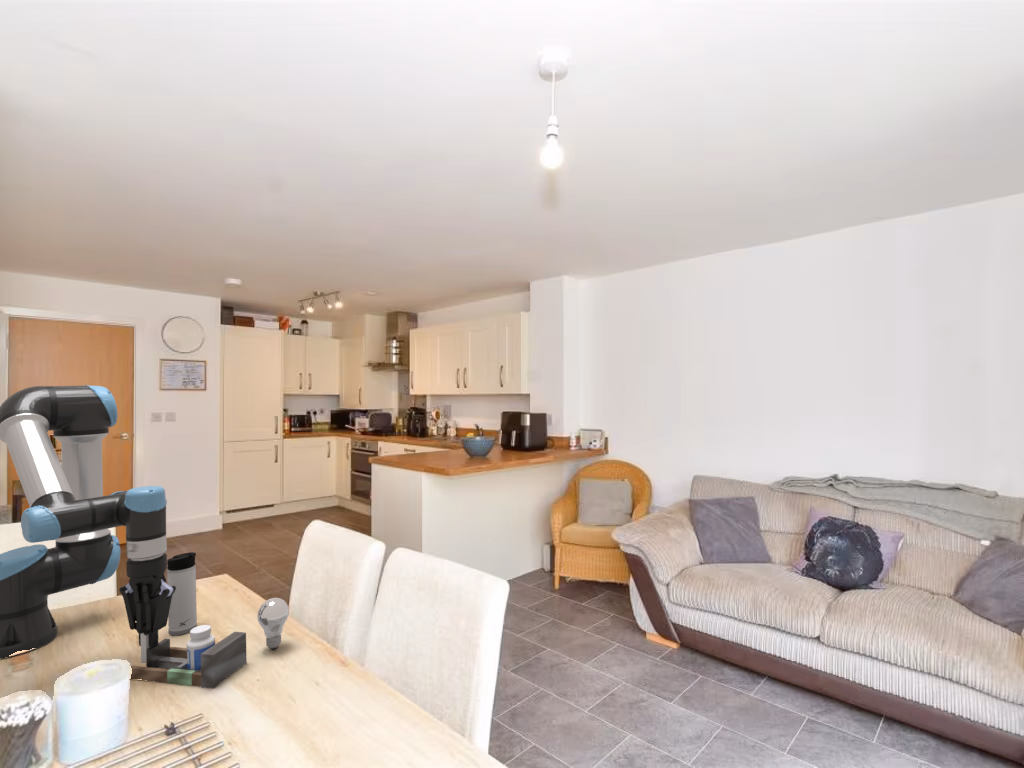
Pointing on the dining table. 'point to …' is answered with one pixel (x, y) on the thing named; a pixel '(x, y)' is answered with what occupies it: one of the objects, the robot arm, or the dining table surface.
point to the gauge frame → (213, 664)
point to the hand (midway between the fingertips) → (149, 660)
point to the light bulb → (273, 620)
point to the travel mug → (182, 593)
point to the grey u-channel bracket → (164, 657)
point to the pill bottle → (198, 646)
